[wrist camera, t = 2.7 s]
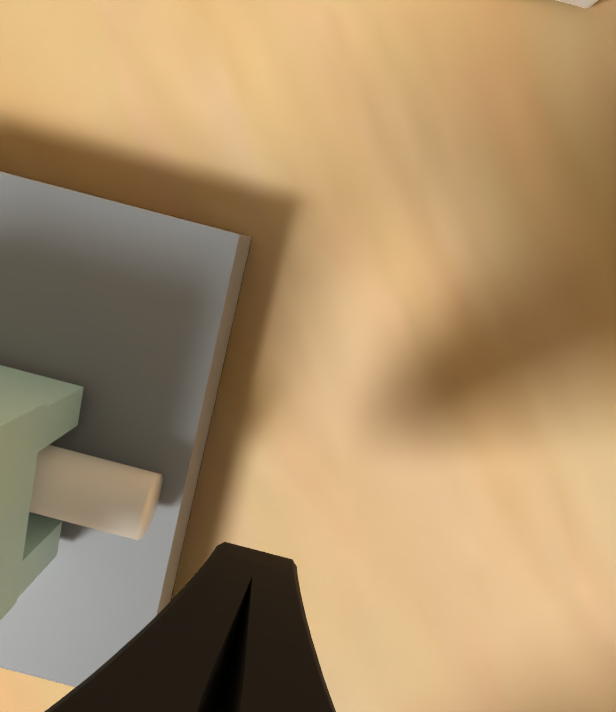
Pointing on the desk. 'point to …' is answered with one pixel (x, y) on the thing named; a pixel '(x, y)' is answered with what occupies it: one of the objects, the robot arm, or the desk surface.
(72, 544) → the board
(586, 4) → the small box
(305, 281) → the desk surface
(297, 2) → the desk surface
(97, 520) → the wooden dowel
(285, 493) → the desk surface
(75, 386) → the sleeve
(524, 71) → the desk surface
